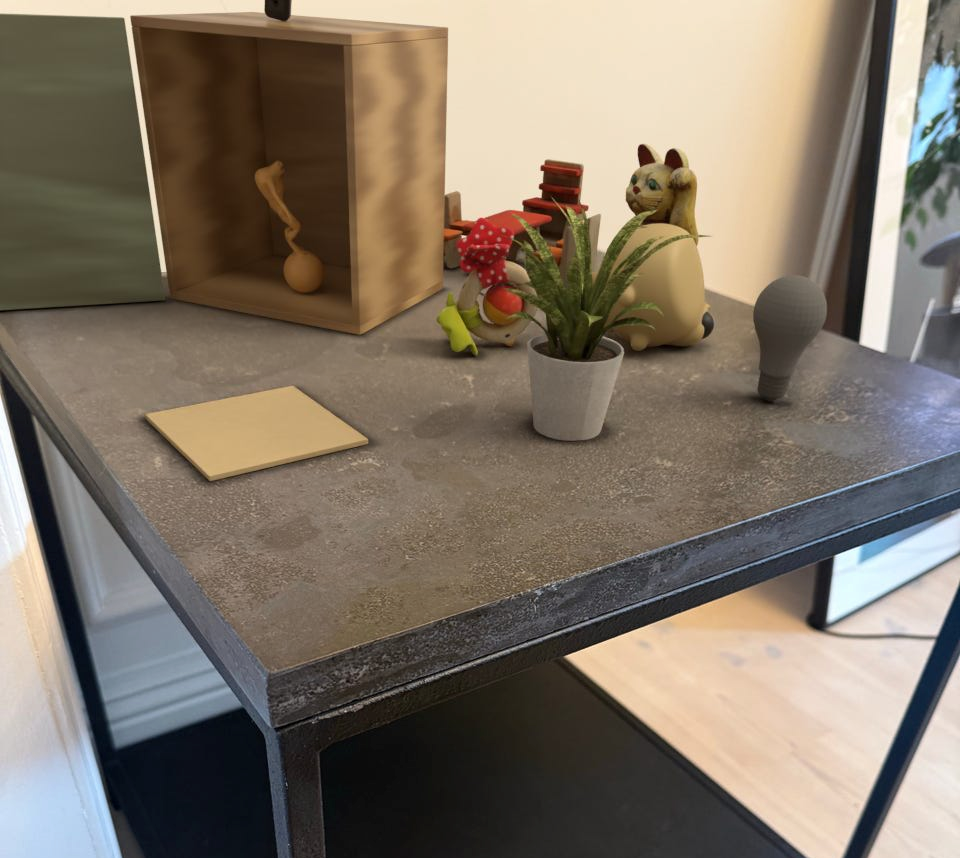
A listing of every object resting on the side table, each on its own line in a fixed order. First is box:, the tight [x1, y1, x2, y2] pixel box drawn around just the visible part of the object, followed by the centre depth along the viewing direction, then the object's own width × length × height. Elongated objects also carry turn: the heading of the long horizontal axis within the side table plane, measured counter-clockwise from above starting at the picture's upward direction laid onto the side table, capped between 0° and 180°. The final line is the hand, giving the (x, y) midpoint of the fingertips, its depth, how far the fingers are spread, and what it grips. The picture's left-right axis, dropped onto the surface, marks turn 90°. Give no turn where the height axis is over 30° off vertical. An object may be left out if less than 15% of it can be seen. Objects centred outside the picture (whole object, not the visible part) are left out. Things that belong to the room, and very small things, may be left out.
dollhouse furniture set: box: [443, 158, 602, 292], centre depth 109 cm, size 19×19×10 cm
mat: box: [144, 385, 369, 482], centre depth 69 cm, size 12×12×1 cm
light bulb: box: [752, 274, 828, 402], centre depth 76 cm, size 6×6×10 cm
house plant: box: [502, 198, 713, 442], centre depth 68 cm, size 14×14×16 cm
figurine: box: [255, 161, 324, 293], centre depth 92 cm, size 8×6×12 cm
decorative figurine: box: [625, 143, 699, 247], centre depth 97 cm, size 10×8×15 cm
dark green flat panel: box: [0, 13, 166, 311], centre depth 85 cm, size 7×22×23 cm, turn 112°
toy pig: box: [592, 223, 715, 352], centre depth 87 cm, size 10×12×11 cm
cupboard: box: [129, 11, 449, 336], centre depth 91 cm, size 18×22×24 cm
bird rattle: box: [436, 217, 538, 357], centre depth 84 cm, size 6×11×9 cm
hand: (288, 7), depth 87 cm, fingers open, 8 cm apart
